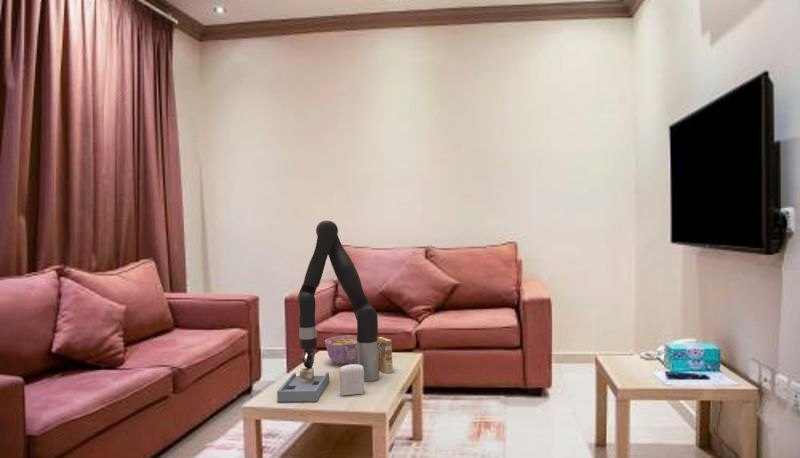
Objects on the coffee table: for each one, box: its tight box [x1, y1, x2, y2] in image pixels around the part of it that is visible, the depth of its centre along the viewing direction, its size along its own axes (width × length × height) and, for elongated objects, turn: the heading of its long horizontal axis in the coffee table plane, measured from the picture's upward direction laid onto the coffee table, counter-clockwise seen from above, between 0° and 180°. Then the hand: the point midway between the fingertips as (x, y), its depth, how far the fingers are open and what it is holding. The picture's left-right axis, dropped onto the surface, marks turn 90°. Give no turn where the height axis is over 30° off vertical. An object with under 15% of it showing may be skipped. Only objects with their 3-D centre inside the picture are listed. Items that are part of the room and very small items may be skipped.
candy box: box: [377, 336, 394, 374], centre depth 276 cm, size 9×4×15 cm, turn 33°
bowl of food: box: [324, 334, 358, 366], centre depth 292 cm, size 20×20×12 cm
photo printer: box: [339, 363, 365, 397], centre depth 244 cm, size 10×4×12 cm, turn 103°
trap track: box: [276, 372, 330, 403], centre depth 249 cm, size 16×26×4 cm, turn 176°
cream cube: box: [299, 367, 315, 383], centre depth 253 cm, size 5×5×5 cm
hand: (309, 375), depth 259 cm, fingers closed
